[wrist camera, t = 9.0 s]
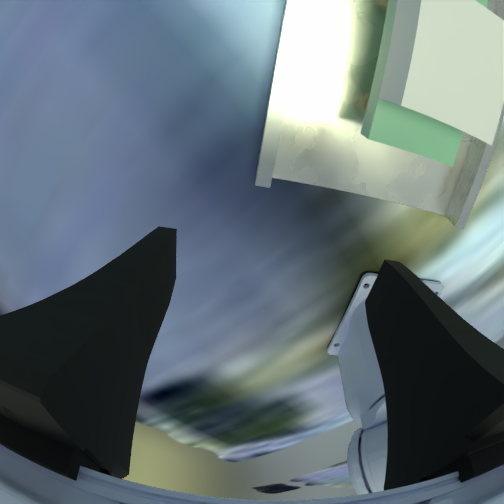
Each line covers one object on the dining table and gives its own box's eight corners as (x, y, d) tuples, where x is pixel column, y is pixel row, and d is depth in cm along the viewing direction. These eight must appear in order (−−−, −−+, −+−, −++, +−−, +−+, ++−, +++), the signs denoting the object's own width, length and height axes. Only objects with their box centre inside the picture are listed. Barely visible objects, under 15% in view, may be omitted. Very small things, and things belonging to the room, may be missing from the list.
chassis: (447, 212, 19) (469, 236, 16) (256, 170, 18) (254, 192, 15) (498, -7, 9) (528, -9, 6) (303, -93, 8) (310, -117, 5)
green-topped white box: (441, 159, 14) (477, 185, 11) (360, 133, 13) (387, 154, 10) (474, 0, 8) (516, -4, 5) (393, -43, 8) (426, -63, 5)
